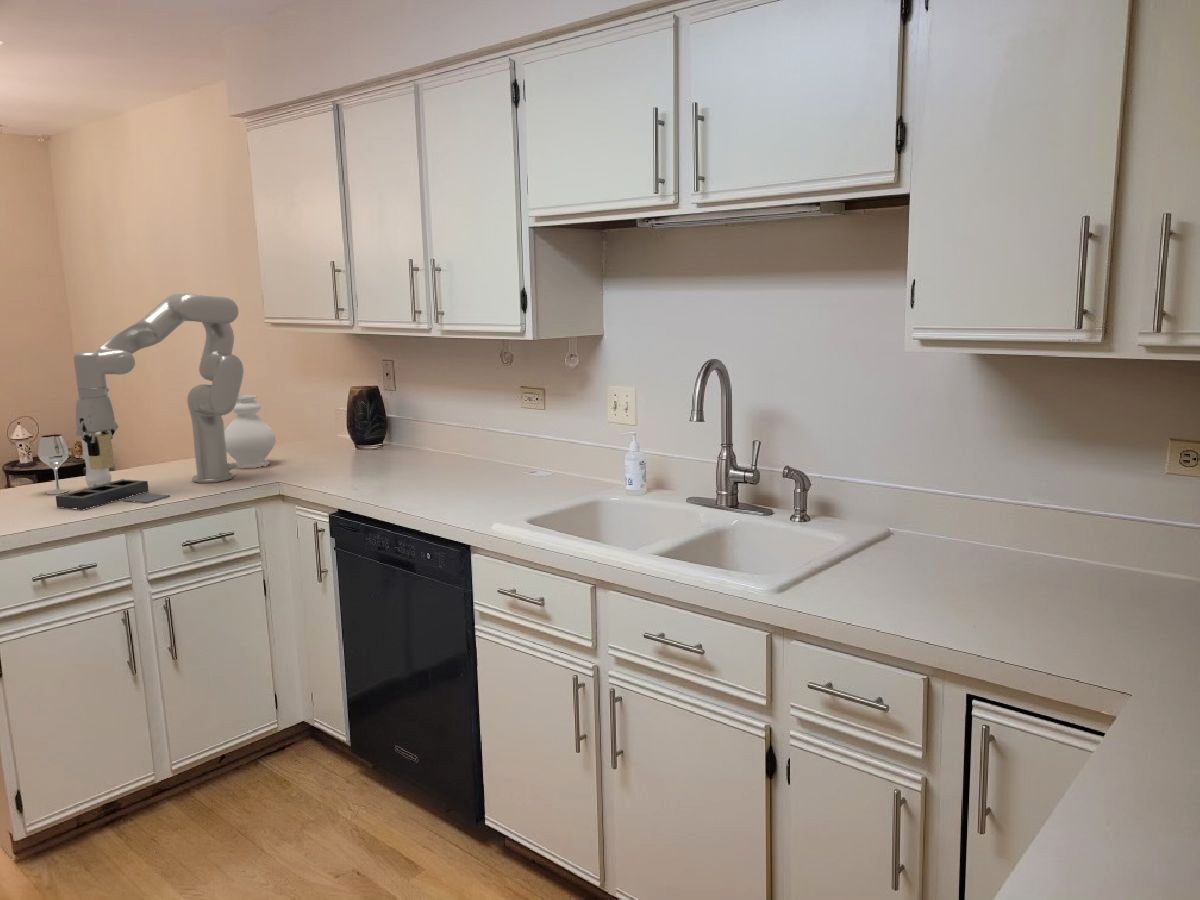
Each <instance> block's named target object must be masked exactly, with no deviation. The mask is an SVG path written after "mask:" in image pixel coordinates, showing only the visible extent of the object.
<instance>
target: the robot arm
mask: <svg viewBox="0 0 1200 900" xmlns="http://www.w3.org/2000/svg"><path fill="white" fill-rule="evenodd" d="M238 316H239V307H238V305H237V303H236V302H235V301H234V300H233V299H231V298H229V297H226V296H225V297H224V296H223V297H222V296H211V295H202V294H195V293H175V294H170V295H169V296H167V297H166V298H165V299H163V300H162V301H161V302H160V303H159V304H158V305H157V306H155V307H154V308H153V309H152V310H150V311H149V312H148V313H147V314H146V315H144V317H142V318H141V319H140V320H138V321H137V322H135V323H133V324H132V325H130V326H128V327H127V328H125V329H124V330H122V331H119V332H118V333H116V334H115V335H114V336H112V337H111V338H109V340H107V341H106V342H105V343H104V344H103V345H101V346H100V347H99V348H98V349H97V350H96V351H94V350H92V351H91V350H90V351H80V352H77V353H75V354H74V355H73V363H74V364H73V365H74V371H75V377H76V379H75V380H76V386H77V394H78V395H77V396H78V399H76V402H75V423H76V430H77V431H76V432H75V436H77V437H79V438H80V439H81V438H82V439H83V440H84V441H85V443H87V447H88V455H89V456H98V448H97V443H95V434H96V432H101V434H110V437H111V440H113V437H114V434H116V433H115V432H116V431H117V430H118V429H119V425H118V424H117V423H116V420H115V412H114V410H113V405H112V404H113V403H112V401H111V398H110V396H109V395H108V392H109V390H110V389H109V388H108V387H107V380H106V379H107V378H106V376H107V375H117V376H119V375H126V374H129V373H130V372H131V371H133V369H134V367H135V365H136V361H135V358H134V355H133V354H134V353H136V352H138V351H140V350H142V349H145V348H149V347H152V346H154V345H158V344H159V343H161V342H163V341H164V340H165V339H166V338H167V337H168V336H169V335H171V334H172V333H173V332H174V331H175V330H176V329H178V328H179V326H181V325H182V324H183V323H184V322H195V323H196V322H198V323H201V324H202V325H203V327H204V330H205V343H204V347H203V352H202V354H201V355H202V356H201V357H200V362H199V367H198V371H199V375H200V376H201V377H202V378H203V379H204V380H207V381H209V382H211V384H198V385H195V386H194V387H192V388H191V389H190V390H189V392H188V395H187V397H186V398H187V400H186V401H187V408H188V411H189V415H190V418H191V424H192V434H193V437H192V438H193V445H194V446H193V447H194V457H195V458H194V459H195V467H196V469H195V470H196V474H195V475H193V476H192V477H191V480H192V482H193V483H199V484H201V483H202V484H207V483H208V484H209V483H220V481H221V482H226V481H229V479H230V480H232V479H233V478H234V473H232V472H231V471H232V470H235V469H237V468H236V467H237V465H236V464H235V463H236V462H233V463H229V462H228V457H227V454H228V453H227V451H226V443H225V430H226V429H225V424H224V420H223V416H226V415H229V414H230V413H231V412H233V409H234V407H235V405H236V402H237V399H238V396H240V389H241V386H242V382H243V378H244V364H243V362H242V361H241V359H240V358H239V357H238V356H237V355H236V354H233V348H234V344H235V343H234V341H235V335H234V330H233V327H232V325H231V323H233V322H235V320H236V319H237V318H238ZM84 432H85V434H84ZM90 434H91V437H89V436H90ZM82 439H81V440H82ZM111 445H113V444H112V443H111Z"/></svg>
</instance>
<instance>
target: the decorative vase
mask: <svg viewBox="0 0 1200 900" xmlns="http://www.w3.org/2000/svg"><path fill="white" fill-rule="evenodd" d="M257 398H258V397H257V395H256V394H242V395H241V394H239V395H238V399H237V402H236V405H235V407H234V409H233V410H232V412H234V414H236V415H237V416H236V417H235V418H233V420H232V421H231V422H230V423H229V424H228V426H226V428H225V429H224V430H225V443H226V453H227V454H228V455H229V456H230V457H231V458H233V460H235V462H234V463H235V464H236V465H237V467H236V468H235V469H239V468H249V469H256V468H255V467H259V468H262V467H261V466H264V467H266V466H265V465H267V466H269V465H270V461H268V460H265V459H266V458H267V457H268V456H269V455H270V453H271V451H272V450H273V449H274V447H275V444H276V434H275V432H274V430H273V429H272V427H271V426H270V425H269V424H268V423H267V422H266V421H265V420H264V419H263V418H261V417H260V416H259V415H258V412H259V411H260V410H261V404H260V403H259V402H258V401H256V400H255V399H257ZM268 464H269V465H268Z"/></svg>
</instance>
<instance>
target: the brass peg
mask: <svg viewBox="0 0 1200 900" xmlns="http://www.w3.org/2000/svg"><path fill="white" fill-rule="evenodd" d="M89 437H91V435H90V436H89ZM95 443H97V448H98V456H89V460H90V468H91V469H97V470H103V469H107V468H109V469H111V468H115V462H114V455H113V446H112V445H113V444H112V439H111V437H110V434H95ZM111 444H112V445H111Z"/></svg>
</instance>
